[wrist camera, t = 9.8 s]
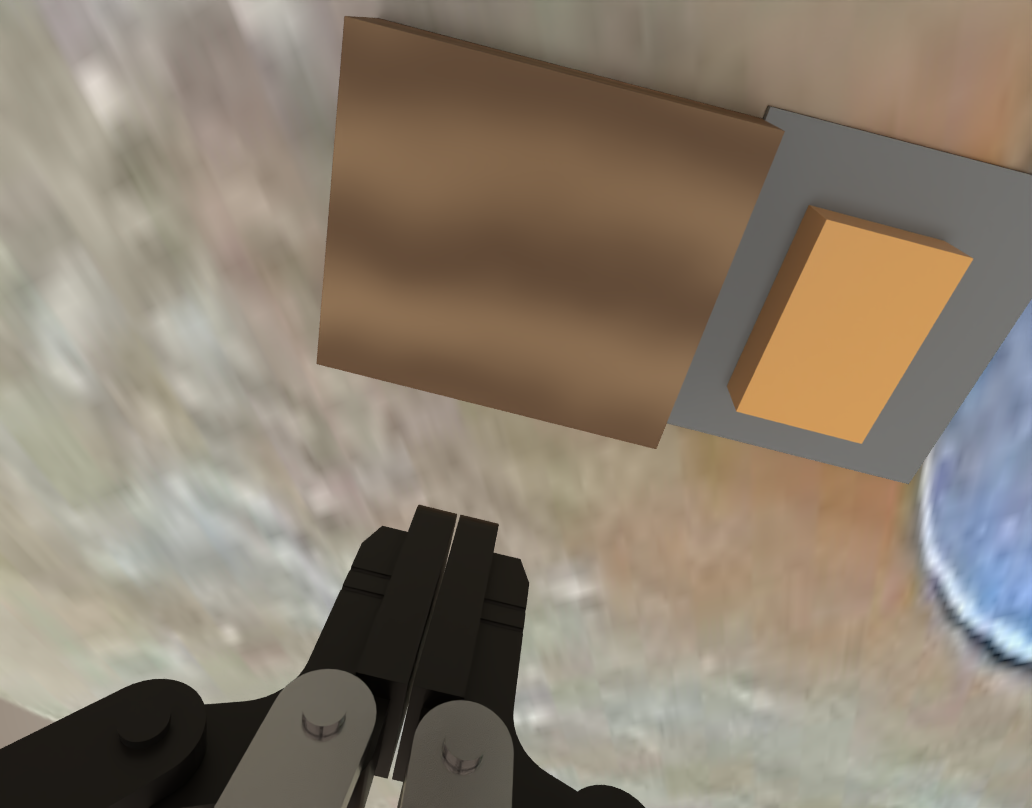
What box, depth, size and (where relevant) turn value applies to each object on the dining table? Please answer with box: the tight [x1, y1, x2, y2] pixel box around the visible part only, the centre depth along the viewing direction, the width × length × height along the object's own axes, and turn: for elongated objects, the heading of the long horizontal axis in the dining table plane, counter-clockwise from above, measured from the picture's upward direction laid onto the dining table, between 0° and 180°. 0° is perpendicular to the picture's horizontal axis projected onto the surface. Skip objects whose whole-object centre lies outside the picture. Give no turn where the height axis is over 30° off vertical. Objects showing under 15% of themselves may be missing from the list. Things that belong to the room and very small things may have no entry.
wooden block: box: [317, 16, 785, 449], centre depth 29 cm, size 14×16×4 cm
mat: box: [667, 106, 1032, 484], centre depth 30 cm, size 15×14×1 cm
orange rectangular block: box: [727, 205, 974, 444], centre depth 29 cm, size 9×6×2 cm, turn 167°
